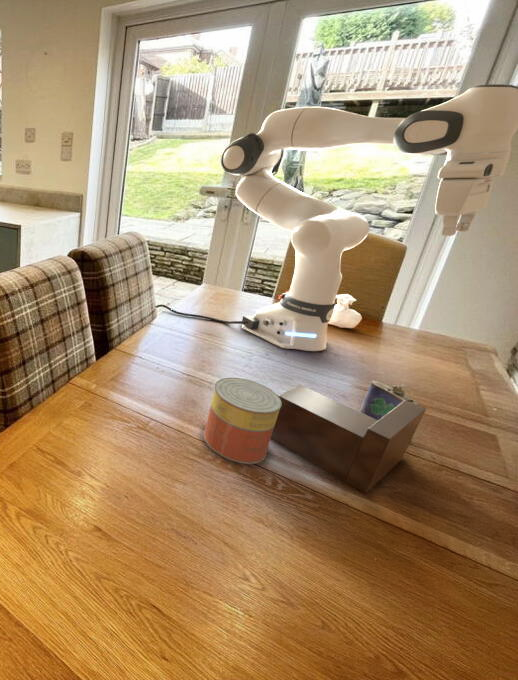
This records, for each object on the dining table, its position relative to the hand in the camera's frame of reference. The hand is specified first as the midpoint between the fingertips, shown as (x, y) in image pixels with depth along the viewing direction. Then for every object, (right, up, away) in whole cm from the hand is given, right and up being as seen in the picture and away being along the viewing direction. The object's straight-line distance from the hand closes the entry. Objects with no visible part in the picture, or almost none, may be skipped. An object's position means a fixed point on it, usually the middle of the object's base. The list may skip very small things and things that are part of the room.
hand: (455, 233), depth 88 cm
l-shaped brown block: (-35, -45, -9) cm, 57 cm away
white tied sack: (+11, -23, +46) cm, 52 cm away
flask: (-20, -43, -3) cm, 47 cm away
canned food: (-54, -44, -8) cm, 70 cm away
